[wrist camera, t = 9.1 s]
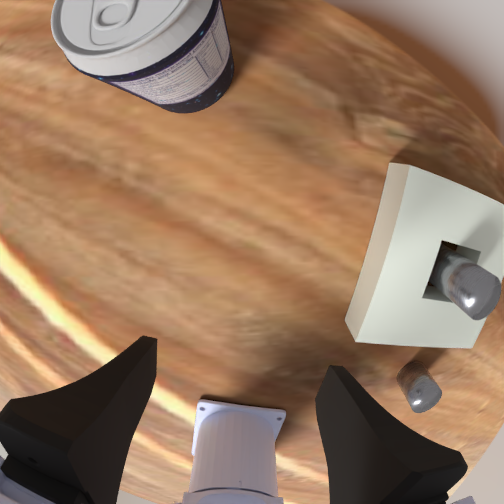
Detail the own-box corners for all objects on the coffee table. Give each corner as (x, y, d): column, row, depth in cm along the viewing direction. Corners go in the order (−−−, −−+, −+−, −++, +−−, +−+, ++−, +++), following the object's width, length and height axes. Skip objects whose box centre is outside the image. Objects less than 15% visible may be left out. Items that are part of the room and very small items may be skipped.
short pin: (415, 385, 25) (431, 411, 21) (391, 385, 25) (406, 413, 21) (428, 361, 24) (447, 387, 20) (404, 360, 24) (422, 388, 20)
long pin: (440, 279, 21) (489, 321, 15) (412, 275, 21) (460, 319, 15) (451, 244, 21) (506, 277, 14) (423, 238, 20) (478, 272, 14)
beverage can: (239, 37, 16) (226, -79, 5) (230, 117, 18) (198, 64, 7) (155, 37, 16) (67, -52, 5) (144, 114, 18) (25, 84, 6)
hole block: (455, 331, 23) (471, 348, 20) (344, 320, 22) (355, 341, 20) (499, 206, 19) (522, 213, 17) (389, 162, 19) (409, 164, 16)
